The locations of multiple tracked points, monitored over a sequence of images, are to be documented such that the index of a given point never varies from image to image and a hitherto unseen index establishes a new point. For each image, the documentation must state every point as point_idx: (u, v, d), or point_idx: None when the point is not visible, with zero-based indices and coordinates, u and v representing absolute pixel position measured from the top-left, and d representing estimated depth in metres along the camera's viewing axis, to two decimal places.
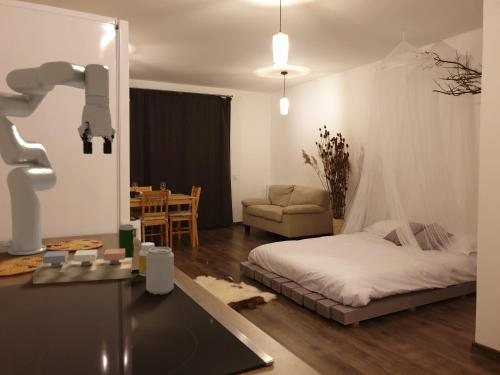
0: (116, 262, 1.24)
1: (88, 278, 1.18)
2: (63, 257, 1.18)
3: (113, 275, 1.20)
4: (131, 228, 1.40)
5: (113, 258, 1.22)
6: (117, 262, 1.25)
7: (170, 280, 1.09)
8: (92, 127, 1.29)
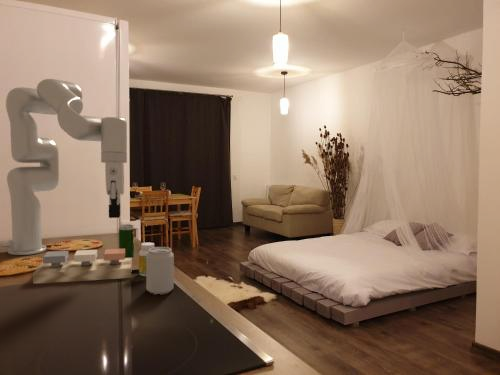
0: (116, 262, 1.24)
1: (88, 278, 1.18)
2: (63, 257, 1.18)
3: (113, 275, 1.20)
4: (131, 228, 1.40)
5: (113, 258, 1.22)
6: (117, 262, 1.25)
7: (170, 280, 1.09)
8: None
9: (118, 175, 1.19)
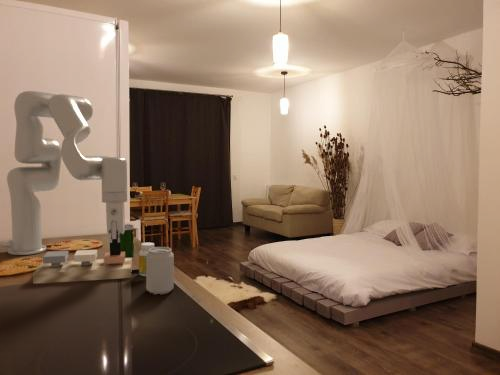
0: None
1: (88, 278, 1.18)
2: (63, 257, 1.18)
3: (113, 275, 1.20)
4: (131, 228, 1.40)
5: (113, 261, 1.22)
6: None
7: (170, 280, 1.09)
8: None
9: (119, 215, 1.20)
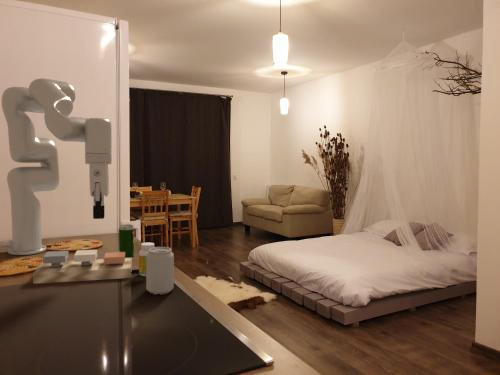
0: None
1: (88, 278, 1.18)
2: (63, 257, 1.18)
3: (113, 275, 1.20)
4: (131, 228, 1.40)
5: (113, 262, 1.23)
6: None
7: (170, 280, 1.09)
8: None
9: (102, 177, 1.18)
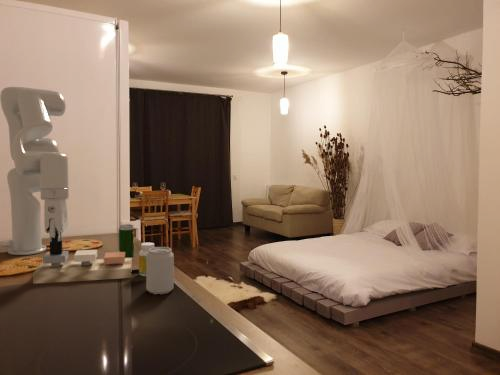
0: None
1: (88, 278, 1.18)
2: (63, 257, 1.18)
3: (113, 275, 1.20)
4: (131, 228, 1.40)
5: (113, 262, 1.23)
6: None
7: (170, 280, 1.09)
8: None
9: (57, 213, 1.15)
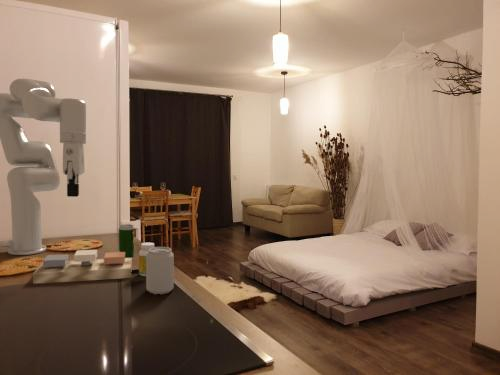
0: None
1: (88, 278, 1.18)
2: (63, 261, 1.19)
3: (113, 275, 1.20)
4: (131, 228, 1.40)
5: (113, 262, 1.23)
6: None
7: (170, 280, 1.09)
8: None
9: (74, 155, 1.21)
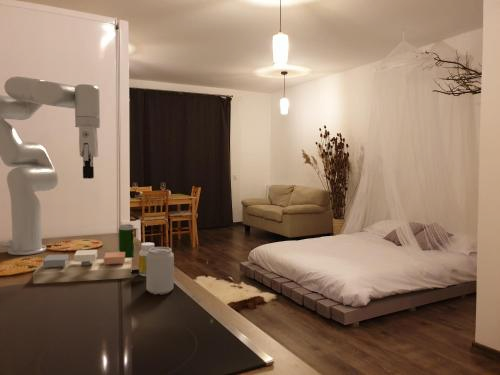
0: None
1: (88, 278, 1.18)
2: (63, 261, 1.19)
3: (113, 275, 1.20)
4: (131, 228, 1.40)
5: (113, 262, 1.23)
6: None
7: (170, 280, 1.09)
8: None
9: (90, 138, 1.28)
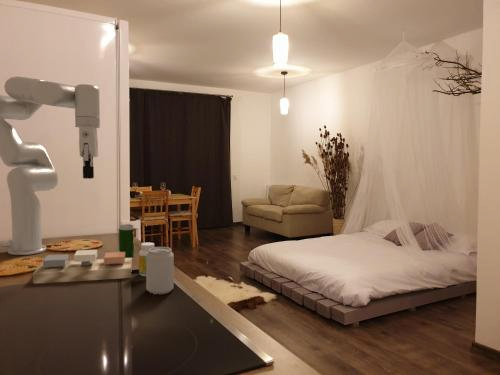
0: None
1: (88, 278, 1.18)
2: (63, 261, 1.19)
3: (113, 275, 1.20)
4: (131, 228, 1.40)
5: (113, 262, 1.23)
6: None
7: (170, 280, 1.09)
8: None
9: (90, 138, 1.28)
